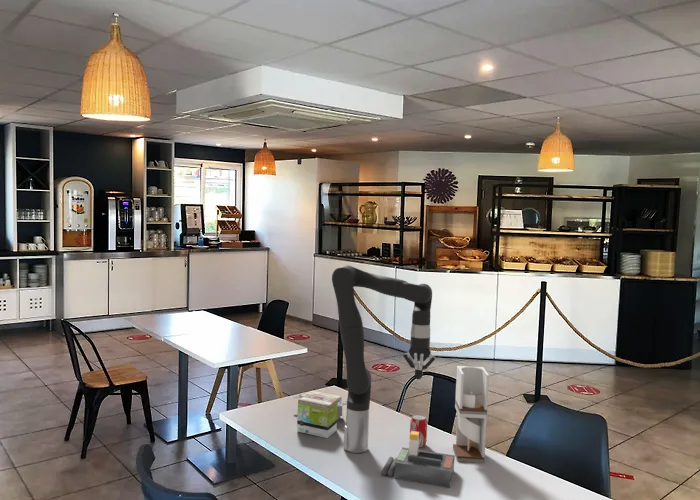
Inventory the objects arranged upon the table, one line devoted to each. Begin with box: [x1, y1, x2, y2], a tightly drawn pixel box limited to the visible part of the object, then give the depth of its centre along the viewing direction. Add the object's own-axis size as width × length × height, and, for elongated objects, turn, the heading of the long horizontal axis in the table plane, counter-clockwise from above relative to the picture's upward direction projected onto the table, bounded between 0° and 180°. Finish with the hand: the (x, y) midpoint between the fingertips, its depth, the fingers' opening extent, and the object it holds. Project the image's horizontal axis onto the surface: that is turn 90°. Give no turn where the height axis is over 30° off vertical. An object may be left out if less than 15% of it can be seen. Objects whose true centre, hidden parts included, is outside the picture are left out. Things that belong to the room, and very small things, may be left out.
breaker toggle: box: [408, 431, 420, 456], centre depth 215 cm, size 3×3×9 cm
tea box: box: [296, 394, 338, 439], centre depth 252 cm, size 15×10×15 cm
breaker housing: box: [394, 447, 456, 489], centre depth 215 cm, size 20×14×8 cm
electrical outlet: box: [292, 390, 347, 421], centre depth 271 cm, size 12×28×10 cm, turn 55°
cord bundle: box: [381, 456, 398, 477], centre depth 219 cm, size 4×14×2 cm, turn 164°
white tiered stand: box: [452, 365, 490, 463], centre depth 232 cm, size 11×11×35 cm
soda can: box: [409, 414, 428, 448], centre depth 241 cm, size 7×7×12 cm
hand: (418, 378), depth 227 cm, fingers closed
